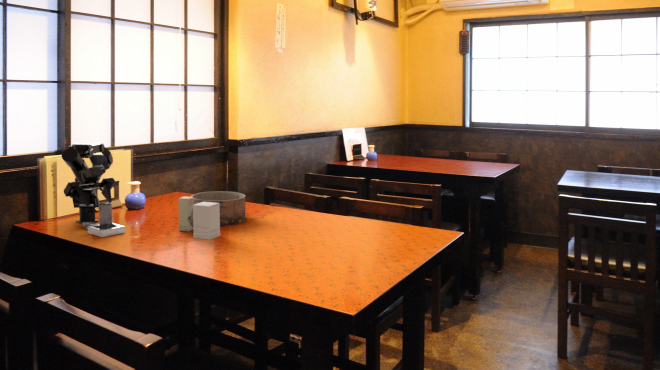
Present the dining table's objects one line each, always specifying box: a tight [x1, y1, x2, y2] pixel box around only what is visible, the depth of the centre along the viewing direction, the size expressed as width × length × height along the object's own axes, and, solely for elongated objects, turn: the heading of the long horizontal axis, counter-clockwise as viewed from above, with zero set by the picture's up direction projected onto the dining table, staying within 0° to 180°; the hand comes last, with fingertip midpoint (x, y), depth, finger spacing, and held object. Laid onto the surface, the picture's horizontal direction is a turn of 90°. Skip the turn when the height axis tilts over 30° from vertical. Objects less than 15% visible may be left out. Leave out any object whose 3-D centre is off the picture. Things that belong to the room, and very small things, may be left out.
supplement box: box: [192, 202, 221, 241], centre depth 199 cm, size 7×7×13 cm
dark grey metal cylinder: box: [98, 201, 114, 229], centre depth 201 cm, size 5×5×12 cm
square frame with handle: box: [82, 221, 126, 238], centre depth 204 cm, size 20×9×2 cm, turn 54°
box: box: [177, 195, 194, 232], centre depth 208 cm, size 5×4×13 cm
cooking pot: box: [190, 190, 246, 227], centre depth 226 cm, size 30×22×11 cm
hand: (100, 203), depth 203 cm, fingers open, 9 cm apart
